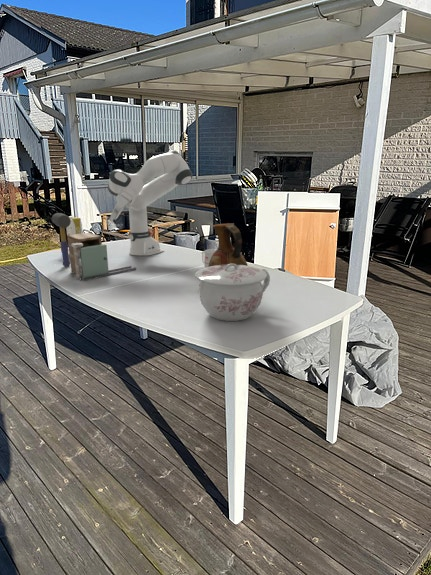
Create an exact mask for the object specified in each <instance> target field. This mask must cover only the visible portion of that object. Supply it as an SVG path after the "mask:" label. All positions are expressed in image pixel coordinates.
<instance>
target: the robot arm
mask: <svg viewBox="0 0 431 575" xmlns="http://www.w3.org/2000/svg"><path fill="white" fill-rule="evenodd" d="M193 176H194V175H193V172H192V170H191V169H190V167H189V165H188V163H187V162H186V161H185V159H184V158H183V157H182V156H181V154H180V152H178V151H177V150H176V149H175V150H173V149H171V150H169V151H167V152H166V153H162V154H158V155H154V156H152V157H150V158H149V159H147V160H146V161H145V163H143V165H142V167H141V168H139V170H138V171H137V172H136V173H129V172H125V171H124V170H122V169H113V170H112V171H111V172H110V173H109V180H108V184H107V190H108V192H109V193H110V194H111V195H112V196H115V200H116V201H115V203H116V204H115V205H114V208H113V210H112V211H111V214H110V217H109V219H108V220H109V221H110V222H113V221H114V220H117V219H118V217H119V216H120V215H121V213H122V212H123V210H126V209H128V212H129V213H128V215H129V216H128V217H129V218H128V220H129V240H130V247H129V252H128V254H129V255H131V256H151V255H156V254H159V253H163V252H165V251H164V250H165V249H163V248H161V246H160V242H159V241H158V240H156V239H155V238H154V237H153V235H154V231H151V230H150V231H149V226H148V213H147V212H148V210H147V207H148V206H150V205H151V204H153V203H154V202H156V201H157V200H158V199H160V198H161V197H163V196H165V195H167V194H168V193H170V192H171V191H173V190H174V189H175V188H176V187H178V185H181V186H183V185H187V184H189V183H190V182H192V179H193ZM150 180H151V181H150ZM147 181H149V182H148V183H146V182H147Z"/></svg>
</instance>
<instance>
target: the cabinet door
mask: <svg viewBox="0 0 431 575" xmlns="http://www.w3.org/2000/svg"><path fill="white" fill-rule="evenodd" d="M107 247H108V246H107V244H105V243H102V244H101V245H94V246H88V247H81V248H80V256H81V258H78V262H79V266H80V267H82V275H83V276H81V279H82V280H83V281H84V278H85V277H90V276H95V275H100V274H105V273H109V271H108V270H109V261H108V260H109V259H108V248H107Z"/></svg>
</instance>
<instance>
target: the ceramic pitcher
mask: <svg viewBox="0 0 431 575" xmlns="http://www.w3.org/2000/svg"><path fill="white" fill-rule="evenodd" d="M211 227H212V228H213V229H214V231H215V232H216V235H217V239H218V247H217V250H216V251H215V252H214V253H213V255H212V257H211V259H210V262H209V266H208V267H210V266H215V265H224V264H231V263H233V264H236V265H246V266H249V265H248V262H247V260H246V258H245V257H244V255H243V254H242V253H241V251H242V245H243V237H242V235H241V234H242V233H241V231H240V229H239V227H237V226H236V225H235V223H234V222H233V223H229V222H227V223H218V224H217V223H216V224H213V225H212V226H211ZM231 234H232V237H233V241H234V246H233V243H232V240H231V239H232V238H231Z"/></svg>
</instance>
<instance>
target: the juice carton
mask: <svg viewBox="0 0 431 575" xmlns="http://www.w3.org/2000/svg"><path fill="white" fill-rule="evenodd" d="M68 217H69V218H70V220H71V223H70V225H69V226H68V227H66V228H65V229H66V230H65V231H66V236H67V235H74V234H82V233H83V232H84V230H83V224H82V218H81V217H76V216H74V217H73V215H70V216H68Z"/></svg>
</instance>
